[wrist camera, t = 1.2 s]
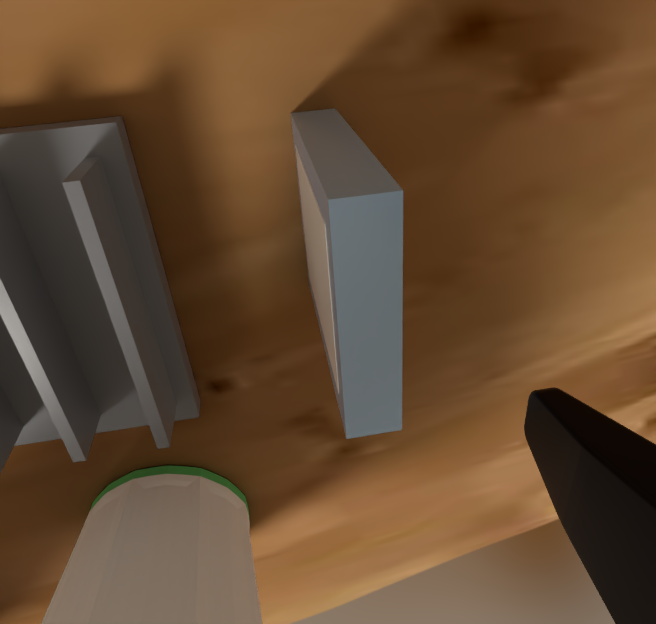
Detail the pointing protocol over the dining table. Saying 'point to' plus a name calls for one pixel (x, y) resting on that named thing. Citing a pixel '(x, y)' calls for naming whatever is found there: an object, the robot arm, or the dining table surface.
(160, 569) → the cup
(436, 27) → the dining table surface
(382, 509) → the dining table surface
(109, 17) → the dining table surface
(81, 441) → the rack
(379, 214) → the light blue upright panel
